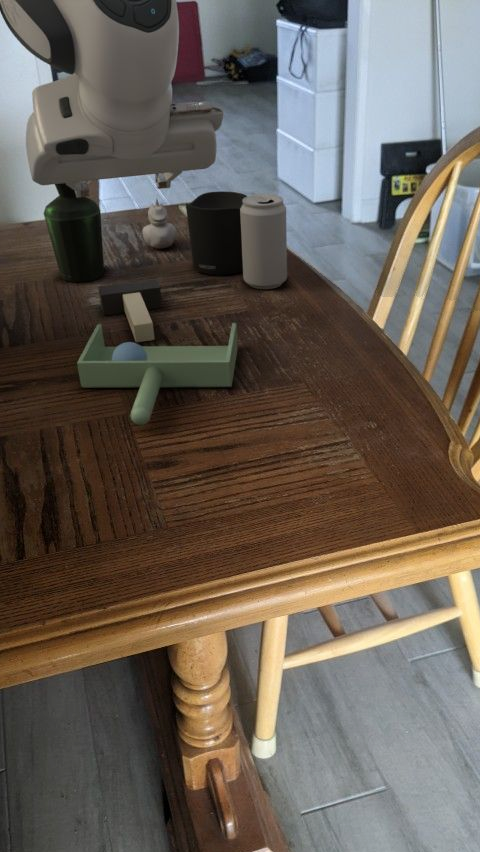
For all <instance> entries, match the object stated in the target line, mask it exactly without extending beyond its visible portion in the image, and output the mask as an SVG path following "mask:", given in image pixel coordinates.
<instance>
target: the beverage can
mask: <svg viewBox="0 0 480 852" xmlns="http://www.w3.org/2000/svg"><path fill="white" fill-rule="evenodd" d="M246 196H247V197H245V198H244V199H243V200H242V202H243V205H242V207H241V209H240V217H241V238H242V259H243V271H242V275H243V276H242V278H243V281H244V282H245V283H246V284H247V285H249V286H250V287H252V288H255V289H260V290H270V289H276V288H278V287H281V285H283V283H285V282H286V281H287V279H288V250H287V249H288V248H287V247H288V241H287V240H288V239H287V207H286V205H285V204H284V198H283V197H282V196H281V195H277V194H271V193H258V194H253V195H252V194H251V195H246Z"/></svg>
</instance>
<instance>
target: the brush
mask: <svg viewBox="0 0 480 852" xmlns="http://www.w3.org/2000/svg"><path fill="white" fill-rule="evenodd" d="M97 288H98V294H99V299H100V300H99V301H100V307H101V310H102V314H103V316H112V315H119V314H125V315H126V319H127V322H128V324H129V327H130V330H131V333H132V336H133V338H134V341H135V343H143V342H149V341H154V340H155V339H156V338H155V331H154V323H153V320H152V318H151V316H150V313H149V310H157V309H162V308H163V299H162V290H161V286H160V284H159V281H158V279H156V278H155V279H147V280H146V279H145V280H139V281H132V282H123V283H116V284H107V285H100V286H98V287H97Z"/></svg>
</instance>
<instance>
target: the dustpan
mask: <svg viewBox="0 0 480 852" xmlns="http://www.w3.org/2000/svg"><path fill="white" fill-rule="evenodd" d="M140 346H141V347H142V348H143V349H144V350H145V352H146V354H147V359H148V361H112V355H113V352H114V350H115V349H116V348H117V347H118V346H106V344H105V338H104V333H103V325H102V323H97V324H96V326H95V328H94V330H93V332H92V334H91V335H90V337H89V339H88V341H87V343H86V344H85V347H84V349H83V351H82V352H81V354H80V357H79V358H78V360H77V362H76V365H77V371H78V377H79V381H80V387H81V388H84V389H85V388H86V389H88V388H89V389H92V388H93V389H94V388H95V389H99V388H101V389H104V388H105V389H108V388H112V389H113V388H115V389H116V388H119V389H120V388H122V389H123V388H127V389H128V388H129V389H130V388H138V392H137V395H136V396H135V399H134V403H133V405H132V408H131V411H130V419H131V421H132V423H134V424H135V425H137V426H144V425H146V424H148V423H149V421H150V420H151V416H152V413H153V410H154V407H155V403H156V401H157V397H158V394H159V392H160V389H161V388H232V386H233V381H234V374H235V368H236V361H237V356H238V349H239V347H238V346H239V345H238V328H237V323H236V322H232V323H231V330H230V333H229V340H228V345H159V346H158V345H157V346H156V345H155V346H154V345H153V346H152V345H151V346H147V345H145V346H142V345H140Z"/></svg>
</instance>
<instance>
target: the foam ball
mask: <svg viewBox="0 0 480 852" xmlns="http://www.w3.org/2000/svg"><path fill="white" fill-rule="evenodd" d="M141 346H142V345H140V344H139V343H137V342H133V341H126V342H123V343H120V344H119V345H117V346H116V347H117V348H116V349H115V350H114V352H113V355H112V361H148V359H147V354H146V352H145V350H144V349H143V348H142V347H141Z"/></svg>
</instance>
